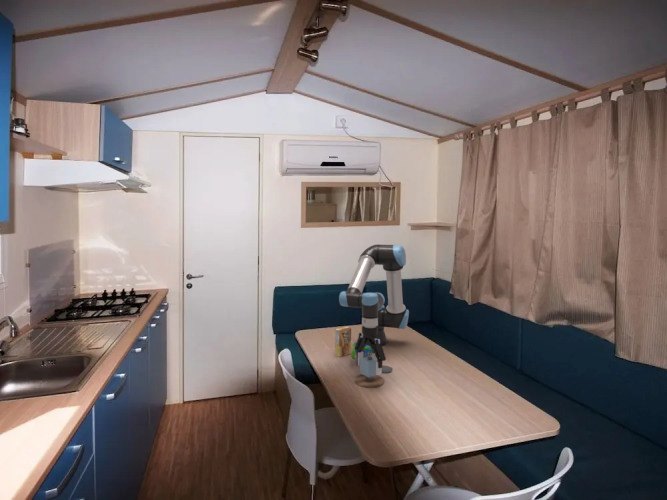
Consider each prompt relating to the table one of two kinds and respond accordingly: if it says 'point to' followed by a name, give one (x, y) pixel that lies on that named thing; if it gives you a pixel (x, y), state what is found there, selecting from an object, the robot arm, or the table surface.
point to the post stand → (369, 381)
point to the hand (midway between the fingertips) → (369, 369)
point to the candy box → (342, 341)
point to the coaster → (386, 369)
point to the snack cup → (366, 351)
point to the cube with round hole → (368, 366)
